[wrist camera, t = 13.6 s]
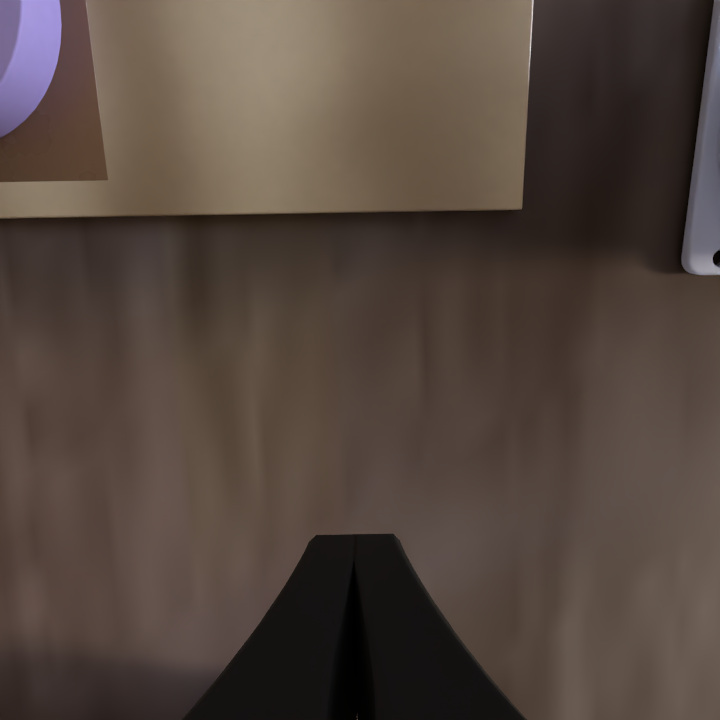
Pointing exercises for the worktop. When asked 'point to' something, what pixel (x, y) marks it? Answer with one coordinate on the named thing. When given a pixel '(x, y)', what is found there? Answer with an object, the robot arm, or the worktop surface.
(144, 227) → the worktop surface
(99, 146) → the board
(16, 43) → the saucer
